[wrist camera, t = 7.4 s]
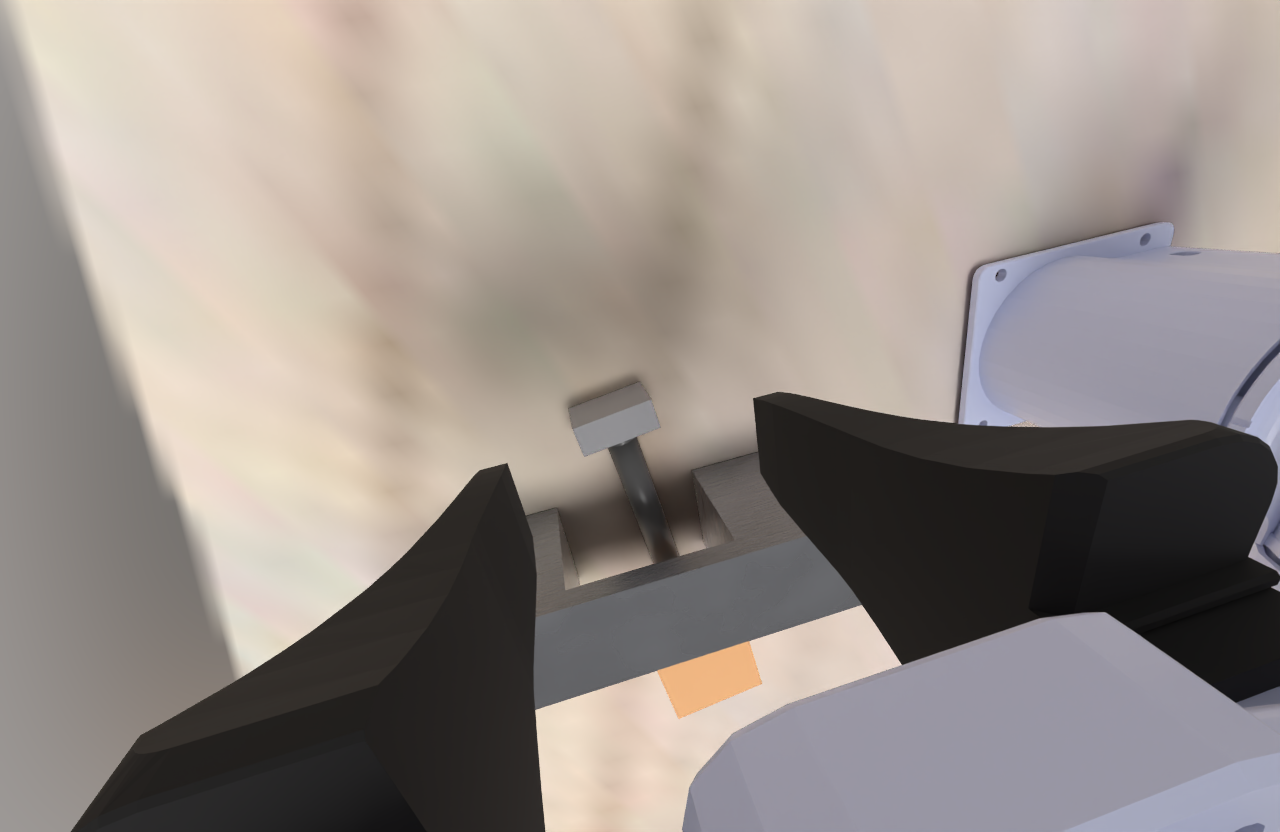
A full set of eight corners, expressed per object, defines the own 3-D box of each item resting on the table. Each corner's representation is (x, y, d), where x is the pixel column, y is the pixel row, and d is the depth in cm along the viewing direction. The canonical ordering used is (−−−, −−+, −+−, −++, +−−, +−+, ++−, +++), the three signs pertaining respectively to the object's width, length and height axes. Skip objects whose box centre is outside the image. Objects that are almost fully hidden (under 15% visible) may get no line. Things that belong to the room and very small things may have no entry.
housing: (797, 441, 22) (880, 513, 17) (801, 513, 24) (878, 599, 19) (437, 540, 20) (407, 656, 15) (469, 610, 22) (451, 736, 17)
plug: (651, 377, 20) (679, 415, 16) (729, 616, 26) (762, 683, 22) (556, 412, 19) (563, 460, 16) (657, 646, 25) (678, 718, 22)
